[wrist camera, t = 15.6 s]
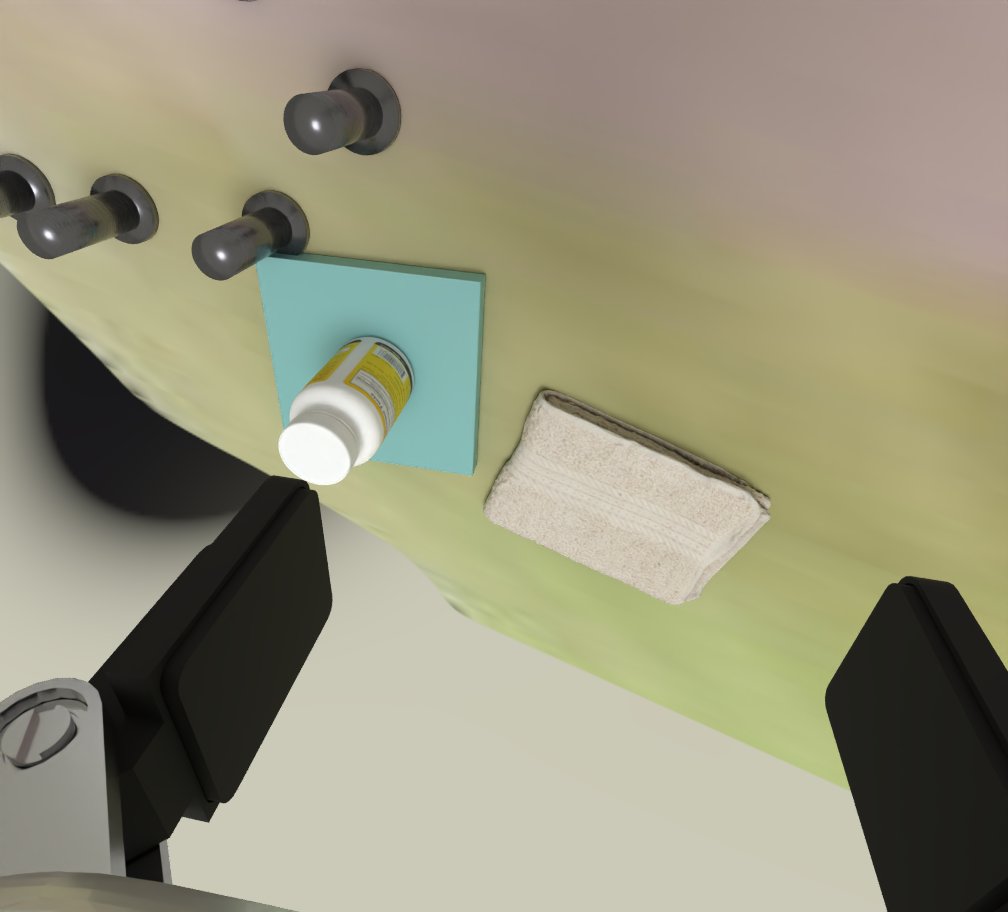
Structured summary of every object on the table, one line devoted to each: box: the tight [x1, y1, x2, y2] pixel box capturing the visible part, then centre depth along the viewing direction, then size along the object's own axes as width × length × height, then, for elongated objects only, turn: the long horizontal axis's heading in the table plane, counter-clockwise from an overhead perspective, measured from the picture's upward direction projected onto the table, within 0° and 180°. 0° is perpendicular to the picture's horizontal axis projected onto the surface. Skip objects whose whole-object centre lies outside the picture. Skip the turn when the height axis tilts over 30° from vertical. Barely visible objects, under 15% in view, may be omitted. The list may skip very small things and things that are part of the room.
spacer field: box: [0, 0, 401, 280], centre depth 31 cm, size 17×27×7 cm, turn 86°
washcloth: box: [483, 390, 771, 605], centre depth 43 cm, size 12×18×3 cm, turn 68°
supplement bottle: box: [278, 337, 414, 485], centre depth 36 cm, size 5×5×10 cm
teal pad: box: [256, 253, 485, 476], centre depth 40 cm, size 14×14×2 cm
